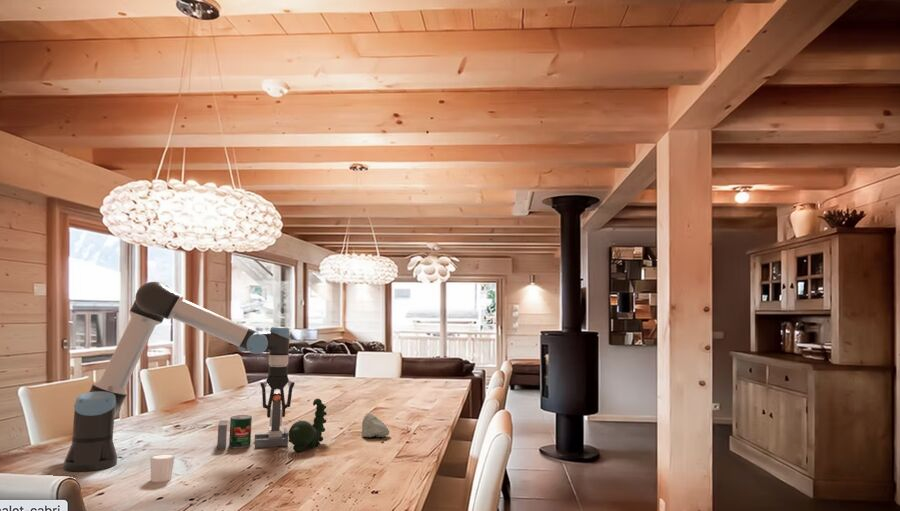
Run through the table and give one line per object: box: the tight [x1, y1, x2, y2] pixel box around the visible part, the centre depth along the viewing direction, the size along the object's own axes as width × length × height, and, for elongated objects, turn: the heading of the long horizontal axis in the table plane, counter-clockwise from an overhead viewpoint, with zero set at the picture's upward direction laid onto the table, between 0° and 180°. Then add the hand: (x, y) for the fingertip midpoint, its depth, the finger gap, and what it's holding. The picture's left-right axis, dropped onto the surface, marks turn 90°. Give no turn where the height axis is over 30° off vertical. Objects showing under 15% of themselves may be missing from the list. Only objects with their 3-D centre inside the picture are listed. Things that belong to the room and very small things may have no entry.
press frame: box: [216, 419, 289, 451], centre depth 227 cm, size 11×26×9 cm, turn 109°
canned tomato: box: [228, 414, 253, 449], centre depth 225 cm, size 8×8×11 cm
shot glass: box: [149, 453, 175, 483], centre depth 179 cm, size 7×7×7 cm
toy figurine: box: [288, 398, 328, 453], centre depth 224 cm, size 9×19×25 cm
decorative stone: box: [361, 413, 390, 438], centre depth 246 cm, size 13×11×10 cm
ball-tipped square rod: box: [267, 392, 283, 439], centre depth 230 cm, size 7×5×20 cm
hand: (275, 425), depth 230 cm, fingers closed on ball-tipped square rod, 3 cm apart
